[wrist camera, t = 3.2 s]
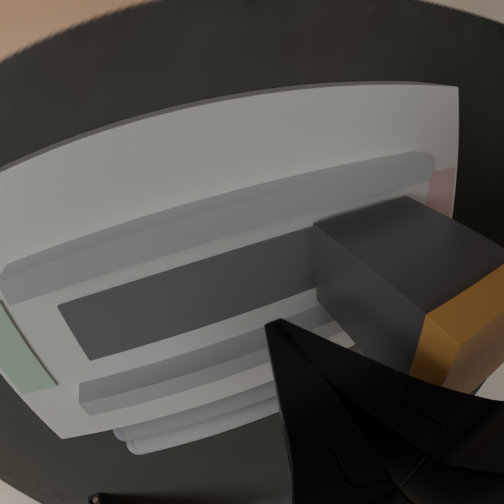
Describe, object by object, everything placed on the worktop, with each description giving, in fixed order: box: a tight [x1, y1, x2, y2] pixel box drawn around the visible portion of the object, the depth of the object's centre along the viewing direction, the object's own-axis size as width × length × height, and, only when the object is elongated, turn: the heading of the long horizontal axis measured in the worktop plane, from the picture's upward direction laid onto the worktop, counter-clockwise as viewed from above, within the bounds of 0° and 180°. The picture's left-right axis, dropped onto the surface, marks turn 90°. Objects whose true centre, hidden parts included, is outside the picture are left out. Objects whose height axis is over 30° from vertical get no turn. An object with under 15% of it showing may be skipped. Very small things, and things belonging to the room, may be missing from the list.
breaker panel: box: [0, 81, 459, 439], centre depth 11 cm, size 20×11×4 cm, turn 99°
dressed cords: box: [113, 344, 365, 455], centre depth 17 cm, size 17×3×1 cm, turn 99°
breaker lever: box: [313, 196, 504, 394], centre depth 9 cm, size 4×3×6 cm
